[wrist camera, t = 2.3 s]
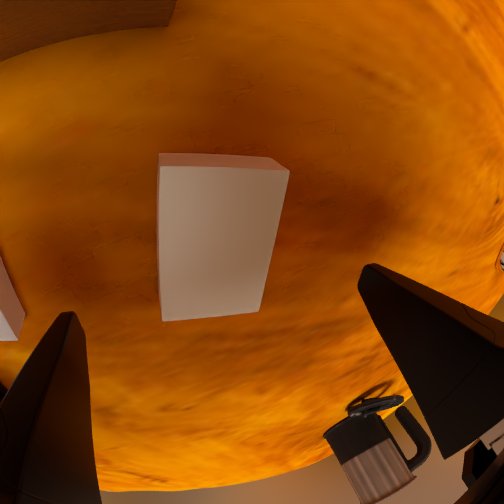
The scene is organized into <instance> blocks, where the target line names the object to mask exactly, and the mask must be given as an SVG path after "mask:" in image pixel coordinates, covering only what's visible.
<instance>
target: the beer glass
mask: <svg viewBox="0 0 504 504" xmlns="http://www.w3.org/2000/svg"><path fill="white" fill-rule="evenodd" d="M496 269H498V270H499V271H501V272H502V273H504V245H503V247H502V249H501V251H500V253H499V256H498V258H497V261H496Z"/></svg>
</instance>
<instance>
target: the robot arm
mask: <svg viewBox="0 0 504 504" xmlns="http://www.w3.org/2000/svg"><path fill="white" fill-rule="evenodd" d="M358 291H359V293H360V295H361V297H362V299H363V301H364V303H365V305H366V307H367V310H368V312H369V314H370V316H371V318H372V320H373V322H374V324H375V326H376V328H377V330H378V332H379V333H380V335H381V337H382V339H383V340H384V342H385V344H386V346H387V347H388V349H389V351H390V353H391V355H392V356H393V358H394V360H395V362H396V364H397V365H398V367H399V369H400V371H401V373H402V375H403V377H404V378H405V380H406V382H407V384H408V386H409V388H410V390H411V392H412V394H413V396H414V398H415V399H416V402H417V404H418V405H419V407H420V410H421V411H422V414H423V416H424V418H425V420H426V422H427V424H428V426H429V428H430V431H431V433H432V435H433V437H434V439H435V441H436V444H437V446H438V448H439V450H440V452H441V455H442V457H443V458H444V460H445V459H447V458H448V457H450V456H452V455H454V454H455V453H457V452H458V451H460V450H461V449H463V448H465V447H466V446H467V445H469V444H471V443H472V442H473V441H475V440H476V439H477V440H476V441H475V443H473V444H472V445H471V446H470V448H469V449H468V450H467V451H466V452H465V455H464V464H463V472H462V479H463V481H464V483H465V484H466V486H467V487H468V490H467V491H466V492H465V493H464V494H463V495H462V496H461V497H460V498H459V499H458V500H457V501H456V502H455V503H454V504H504V322H502V321H500V320H498V319H495V318H493V317H490V316H488V315H486V314H484V313H482V312H479V311H477V310H475V309H473V308H471V307H469V306H467V305H465V304H463V303H460V302H459V301H456V300H454V299H452V298H450V297H448V296H446V295H444V294H442V293H440V292H438V291H436V290H433V289H431V288H429V287H427V286H425V285H423V284H421V283H418V282H416V281H414V280H412V279H410V278H408V277H405V276H403V275H401V274H399V273H397V272H394V271H392V270H390V269H388V268H385V267H383V266H381V265H379V264H376V263H372V264H367V265H365V266H364V267H363V270H362V273H361V275H360V278H359V281H358ZM0 504H102V501H101V496H100V491H99V485H98V479H97V472H96V465H95V457H94V449H93V438H92V425H91V406H90V383H89V374H88V364H87V351H86V337H85V333H84V330H83V328H82V326H81V324H80V322H79V319H78V317H77V315H76V313H75V312H73V311H70V312H62V313H60V314H59V316H58V317H57V318H56V320H55V321H54V322H53V324H52V325H51V326H50V328H49V329H48V330H47V332H46V333H45V335H44V336H43V337H42V339H41V340H40V342H39V343H38V345H37V346H36V348H35V349H34V350H33V352H32V353H31V355H30V356H29V358H28V359H27V361H26V363H25V364H24V366H23V367H22V369H21V370H20V372H19V373H18V375H17V377H16V378H15V380H14V382H13V383H12V385H11V387H10V388H9V390H8V392H7V391H6V390H5V389H4V388H3V387H2V385H1V384H0Z"/></svg>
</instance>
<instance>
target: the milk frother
mask: <svg viewBox="0 0 504 504" xmlns="http://www.w3.org/2000/svg"><path fill="white" fill-rule="evenodd" d="M361 400H362V403H361V404H358V405H356V406H354V407H352V408H350V409H349V410H348V415H349V416H350V417H349V418H347V419H345V420H344V421H342V422H340V423H339V424H337V425H335V426H334V427H333V428H331V429H330V430H329V431H327V432H326V433H325V434H324V438H325V439H326V440H327V441H328V443H329V445H330V446H331V448H332V450H333V452H334V453H335V455H336V457H337V459H338V461H339V462H340V464H341V466H342V468H343V470H344V472H345V474H346V476H347V478H348V479H349V481H350V483H351V485H352V487H353V489H354V491H355V493H356V494H357V496H358V498H359V500H360V504H375V503H378V502H380V501H382V500H383V499H385V498H387V497H389V496H391V495H393V494H394V493H396V492H398V491H399V490H400V489H402V488H404V487H405V486H407V485H408V484H410V483H411V482H412V481H413V480H414V479H415V478H416V477H417V476H414V475H413V474H412V471H414V470H415V469H416V468H417V467H419V466H420V465H422V464H423V463H424V462H425V461H426V459H427V458H428V456H429V454H430V451H431V440H430V438H429V436H428V435H427V434H426V432H425V431H424V429H423V428H422V427H421V425H420V424H419V423H418V422H417V420H416V419H415V418H414V416H413V415H412V414H411V413H410V412H409V410H408V409H407V408H406V407H405V406H400V407H398V408H397V409H396V411H395V416H396V418H397V419H398V421H399V422H400V423H401V425H402V426H403V428H404V429H405V430H406V432H407V433H408V434H409V436H410V437H411V438H412V440H413V441H414V443H415V444H416V446H417V454H416V455H415V456H414V457H413V458H412V459H410V460H407V459H406V458H405V456H404V454H403V452H402V451H401V449H400V447H399V446H398V444H397V442H396V441H395V439H394V437H393V435H392V434H391V432H390V431H389V429H388V428H387V426H386V425H385V423H384V421H383V420H382V418H381V416H380V415H377V414H376V412H377V411H381V410H385V409H389V408H392V407H394V406H398V405H399V404H401V403H402V402H404V397H403V396H400V395H395V396H386V397H382V398H369V399H363V398H361Z"/></svg>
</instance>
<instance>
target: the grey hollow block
mask: <svg viewBox="0 0 504 504" xmlns="http://www.w3.org/2000/svg"><path fill="white" fill-rule="evenodd" d="M176 1H177V0H0V61H2V60H5V59H7V58H10V57H12V56H15V55H18V54H21V53H23V52H26V51H29V50H32V49H35V48H39V47H42V46H45V45H49V44H52V43H56V42H60V41H64V40H68V39H72V38H76V37H81V36H86V35H91V34H97V33H102V32H109V31H116V30H123V29H132V28H142V27H156V26H168V25H169V22H170V19H171V16H172V13H173V10H174V7H175V4H176Z"/></svg>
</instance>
